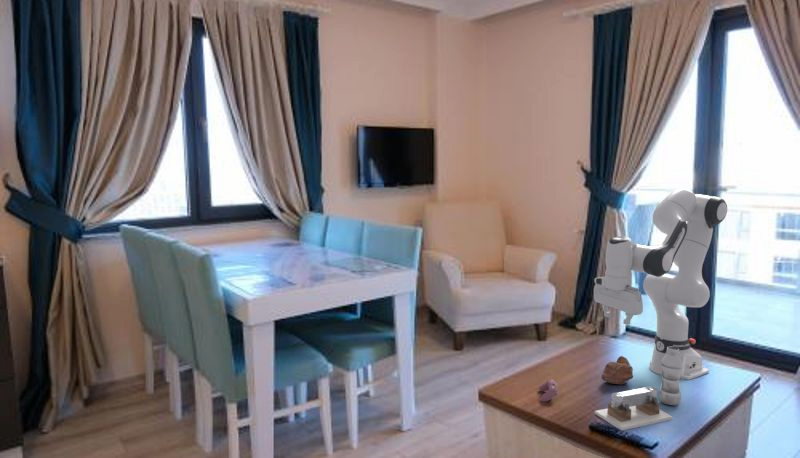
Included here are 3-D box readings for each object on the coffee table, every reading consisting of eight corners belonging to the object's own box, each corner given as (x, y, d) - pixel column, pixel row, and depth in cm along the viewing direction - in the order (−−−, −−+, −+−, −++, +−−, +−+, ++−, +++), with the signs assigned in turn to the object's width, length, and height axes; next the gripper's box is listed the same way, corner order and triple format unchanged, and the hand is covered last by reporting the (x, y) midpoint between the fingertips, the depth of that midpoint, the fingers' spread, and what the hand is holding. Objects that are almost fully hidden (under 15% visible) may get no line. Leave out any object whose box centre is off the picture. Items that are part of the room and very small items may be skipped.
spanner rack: (643, 403, 184) (644, 385, 183) (672, 419, 173) (673, 400, 172) (594, 413, 176) (595, 395, 176) (621, 430, 165) (622, 410, 164)
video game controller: (551, 407, 185) (561, 390, 183) (539, 400, 185) (549, 384, 184) (549, 395, 194) (558, 379, 193) (537, 388, 195) (547, 373, 193)
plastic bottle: (679, 409, 179) (683, 352, 177) (657, 404, 183) (661, 349, 180) (681, 402, 185) (685, 347, 182) (659, 397, 188) (663, 343, 186)
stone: (621, 376, 207) (622, 352, 206) (640, 384, 200) (641, 359, 198) (599, 383, 201) (600, 358, 199) (618, 391, 193) (620, 365, 192)
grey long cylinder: (650, 397, 179) (650, 385, 178) (658, 401, 175) (659, 390, 175) (608, 405, 173) (609, 393, 172) (616, 410, 169) (617, 398, 169)
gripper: (648, 288, 179) (646, 327, 181) (604, 276, 198) (603, 311, 200) (633, 290, 177) (632, 330, 179) (591, 277, 196) (590, 313, 198)
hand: (616, 320), depth 189 cm, fingers open, 8 cm apart
